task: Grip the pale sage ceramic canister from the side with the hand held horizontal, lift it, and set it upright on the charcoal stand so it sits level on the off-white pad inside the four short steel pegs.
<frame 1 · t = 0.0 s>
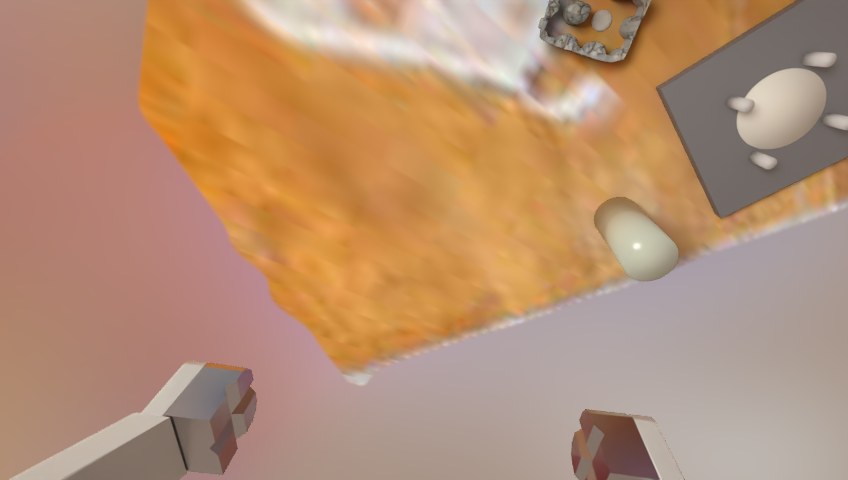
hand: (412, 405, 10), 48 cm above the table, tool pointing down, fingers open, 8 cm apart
canister: (616, 217, 58), on the table
egg carton: (585, 19, 48), on the table
peg stand: (771, 108, 50), on the table
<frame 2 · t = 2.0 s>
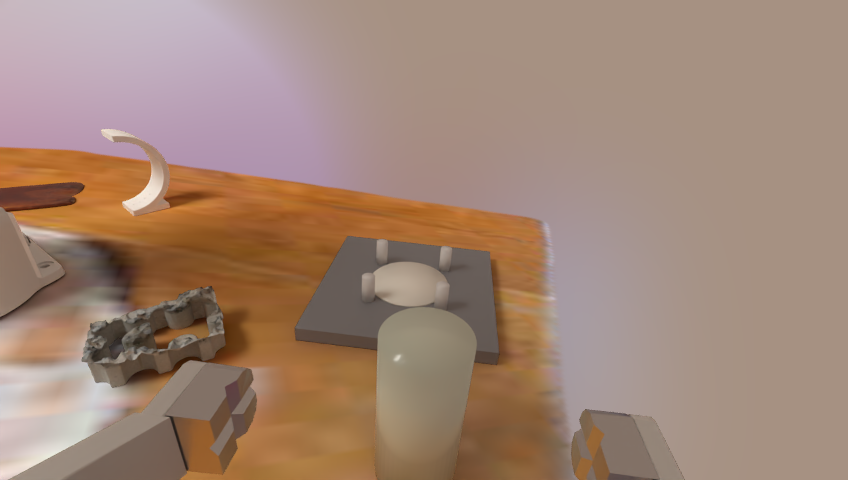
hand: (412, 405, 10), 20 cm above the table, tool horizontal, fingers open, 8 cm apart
canister: (415, 461, 30), on the table
egg carton: (165, 352, 39), on the table
headphone stand: (150, 207, 65), on the table
peg stand: (408, 293, 49), on the table
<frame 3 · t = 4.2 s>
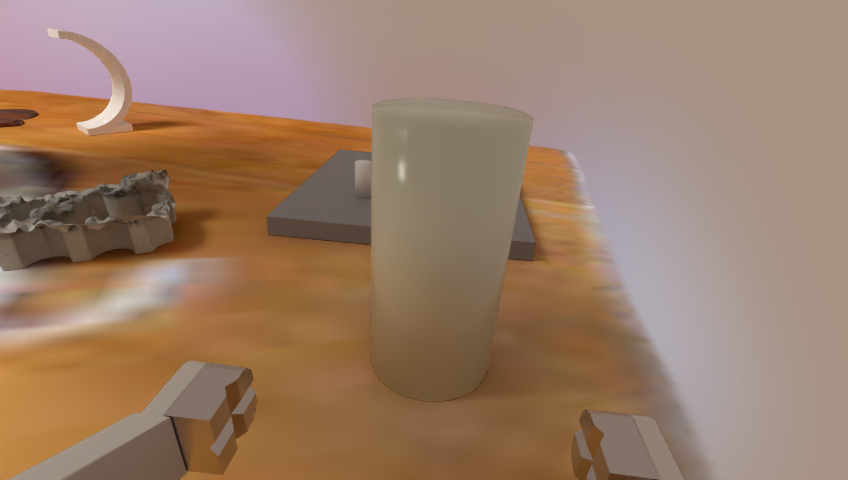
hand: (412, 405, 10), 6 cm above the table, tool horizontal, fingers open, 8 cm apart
canister: (429, 354, 21), on the table
egg carton: (94, 244, 29), on the table
headphone stand: (111, 131, 56), on the table
peg stand: (413, 199, 40), on the table
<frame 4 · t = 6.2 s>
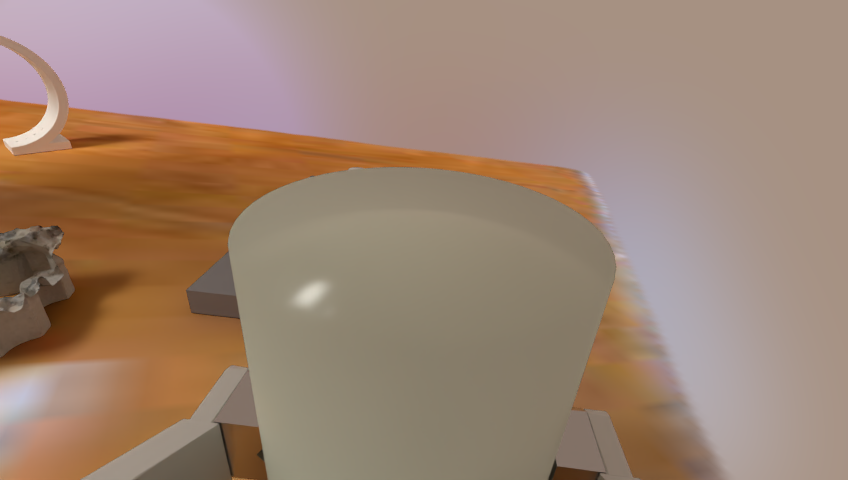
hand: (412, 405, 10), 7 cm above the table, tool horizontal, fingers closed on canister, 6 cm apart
headphone stand: (45, 148, 47), on the table
peg stand: (396, 247, 31), on the table
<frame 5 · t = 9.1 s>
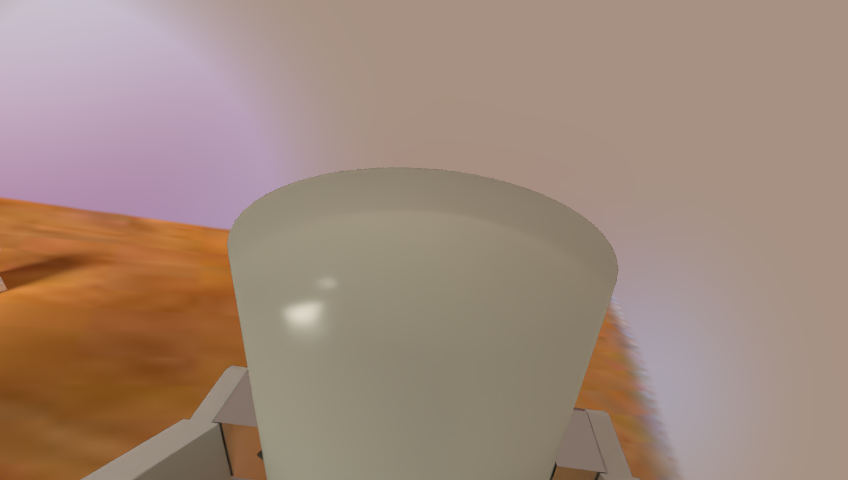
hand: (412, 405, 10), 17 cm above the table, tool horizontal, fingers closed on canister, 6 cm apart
when the fingers open (10 cm above the table, at t = 11.9 s): canister drops 1 cm, resting on peg stand.
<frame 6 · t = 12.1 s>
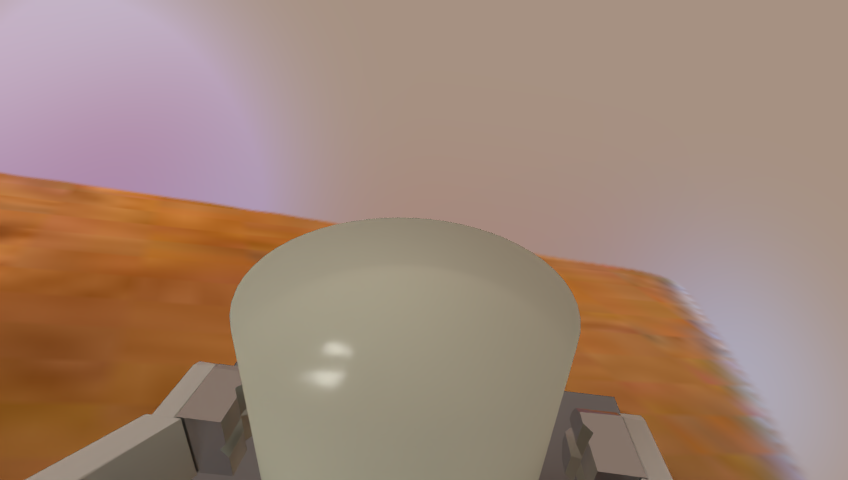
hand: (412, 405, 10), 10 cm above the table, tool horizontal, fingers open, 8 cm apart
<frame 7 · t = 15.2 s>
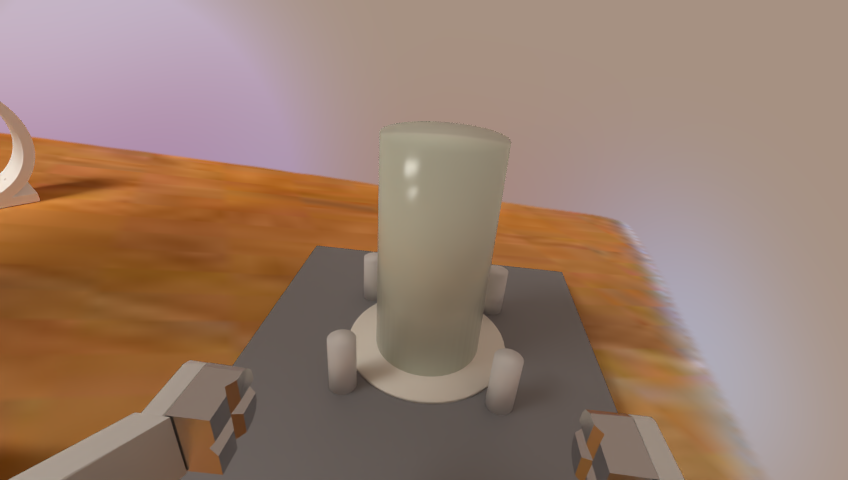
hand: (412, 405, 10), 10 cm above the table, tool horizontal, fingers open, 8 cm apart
canister: (427, 338, 24), point 2 cm above the table, touching peg stand
headphone stand: (9, 200, 41), on the table
peg stand: (425, 360, 25), on the table
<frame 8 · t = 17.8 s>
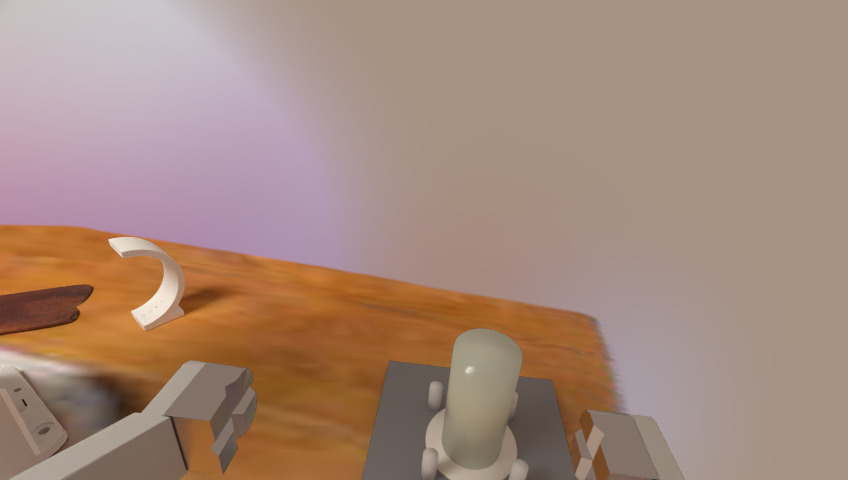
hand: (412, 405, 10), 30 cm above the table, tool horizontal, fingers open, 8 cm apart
canister: (471, 441, 41), point 2 cm above the table, touching peg stand
headphone stand: (163, 314, 58), on the table
peg stand: (468, 452, 42), on the table
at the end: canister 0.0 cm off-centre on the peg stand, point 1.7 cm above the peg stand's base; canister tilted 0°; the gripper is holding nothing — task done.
